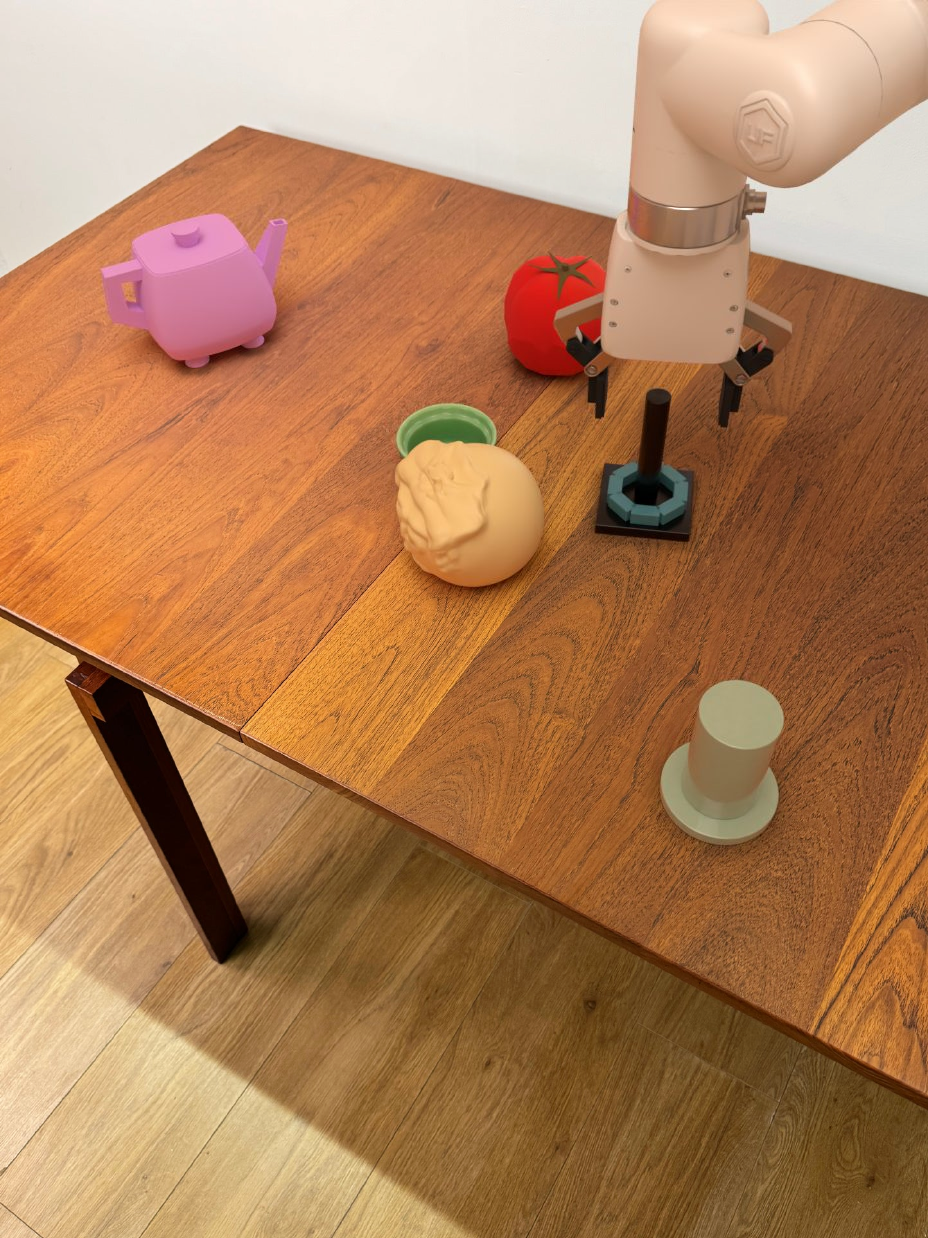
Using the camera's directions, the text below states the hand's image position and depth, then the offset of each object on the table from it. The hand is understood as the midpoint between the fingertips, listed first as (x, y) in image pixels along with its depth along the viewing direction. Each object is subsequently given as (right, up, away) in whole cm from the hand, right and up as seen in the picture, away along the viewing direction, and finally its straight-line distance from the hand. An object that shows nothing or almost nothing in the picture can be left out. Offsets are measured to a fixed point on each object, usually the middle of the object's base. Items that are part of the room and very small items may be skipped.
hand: (661, 412), depth 80 cm
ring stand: (+2, -29, -10) cm, 31 cm away
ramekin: (-17, -3, +13) cm, 21 cm away
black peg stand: (0, -7, +8) cm, 11 cm away
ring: (0, -6, +8) cm, 10 cm away
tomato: (-6, +10, +22) cm, 25 cm away
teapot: (-42, +14, +28) cm, 53 cm away
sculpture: (-15, -11, +6) cm, 20 cm away
